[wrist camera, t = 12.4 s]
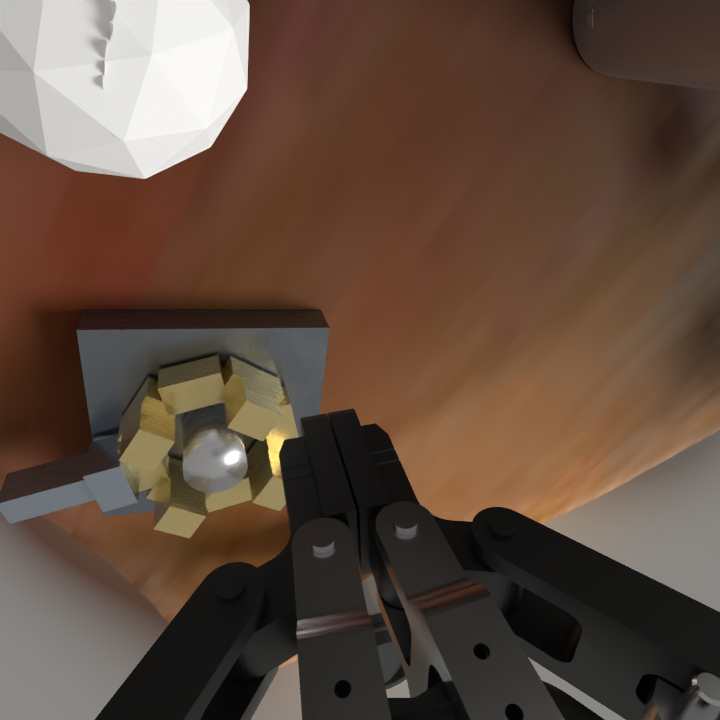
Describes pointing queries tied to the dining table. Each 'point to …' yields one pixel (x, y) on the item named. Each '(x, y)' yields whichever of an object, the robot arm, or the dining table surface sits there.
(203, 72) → the geodesic sphere
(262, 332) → the housing
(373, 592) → the coffee cup
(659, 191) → the dining table surface
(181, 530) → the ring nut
